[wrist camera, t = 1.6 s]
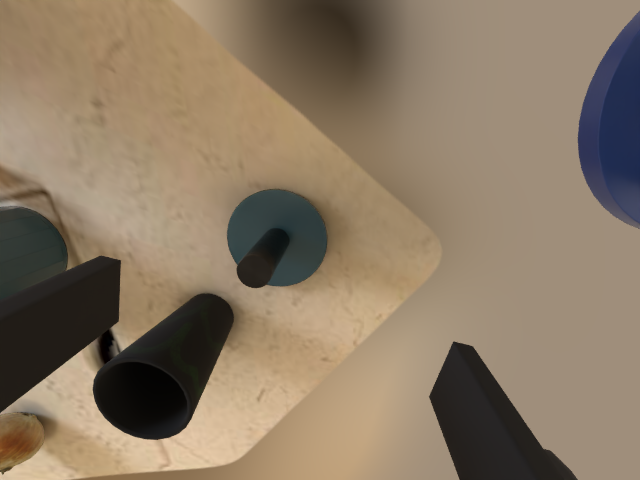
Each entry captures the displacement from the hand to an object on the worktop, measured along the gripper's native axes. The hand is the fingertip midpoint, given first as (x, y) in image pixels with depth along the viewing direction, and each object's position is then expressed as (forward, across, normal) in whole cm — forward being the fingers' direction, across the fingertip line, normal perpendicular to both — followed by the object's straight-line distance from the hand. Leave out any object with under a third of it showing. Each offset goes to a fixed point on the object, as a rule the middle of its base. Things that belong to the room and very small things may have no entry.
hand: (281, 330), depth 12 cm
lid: (+18, -3, -3) cm, 19 cm away
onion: (+19, -31, -36) cm, 52 cm away
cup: (+19, -9, -14) cm, 25 cm away
